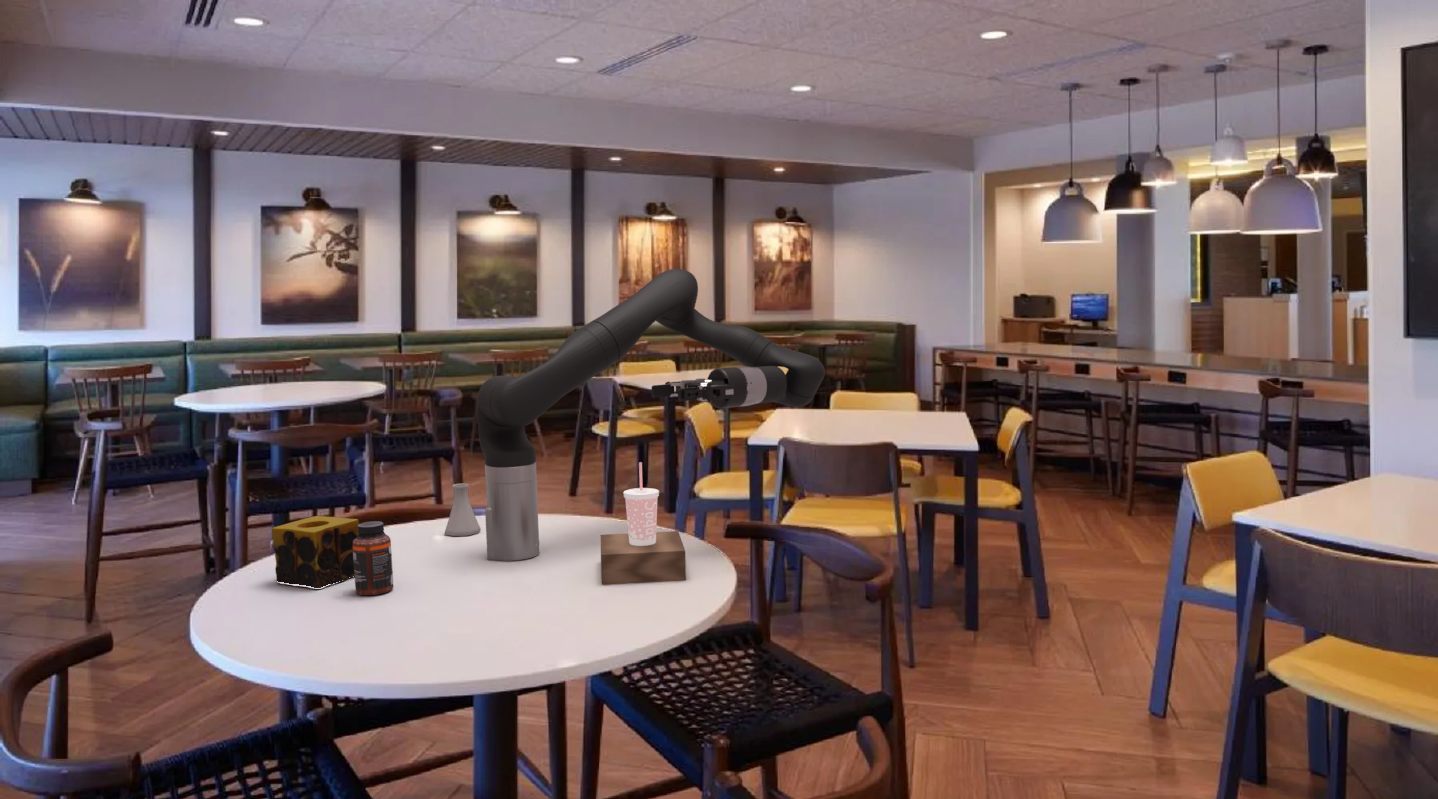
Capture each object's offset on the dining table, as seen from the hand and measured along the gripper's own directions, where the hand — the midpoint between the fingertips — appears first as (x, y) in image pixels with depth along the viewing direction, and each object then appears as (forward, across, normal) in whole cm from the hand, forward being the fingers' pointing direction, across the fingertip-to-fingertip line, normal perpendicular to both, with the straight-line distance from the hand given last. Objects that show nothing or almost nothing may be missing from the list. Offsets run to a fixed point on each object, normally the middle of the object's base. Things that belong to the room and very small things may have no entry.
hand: (665, 393), depth 177 cm
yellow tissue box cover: (+54, -28, +30) cm, 68 cm away
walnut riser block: (+9, +4, +30) cm, 32 cm away
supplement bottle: (+49, -14, +30) cm, 59 cm away
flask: (+22, -44, +30) cm, 57 cm away
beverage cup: (+8, +4, +25) cm, 27 cm away
